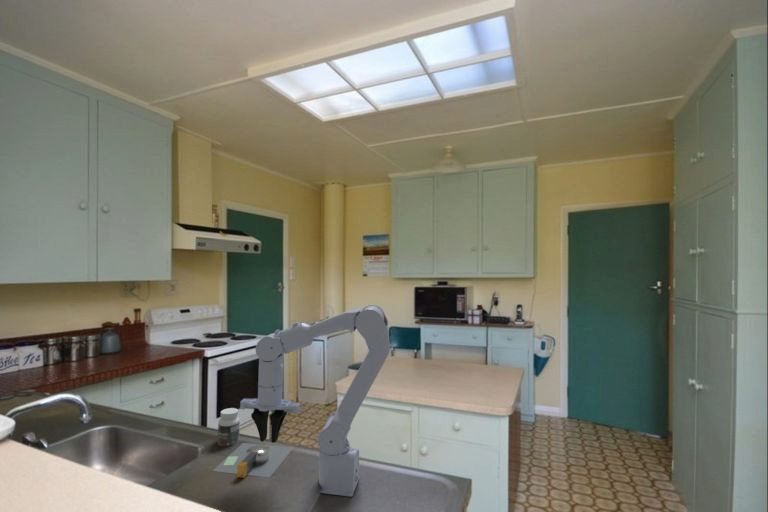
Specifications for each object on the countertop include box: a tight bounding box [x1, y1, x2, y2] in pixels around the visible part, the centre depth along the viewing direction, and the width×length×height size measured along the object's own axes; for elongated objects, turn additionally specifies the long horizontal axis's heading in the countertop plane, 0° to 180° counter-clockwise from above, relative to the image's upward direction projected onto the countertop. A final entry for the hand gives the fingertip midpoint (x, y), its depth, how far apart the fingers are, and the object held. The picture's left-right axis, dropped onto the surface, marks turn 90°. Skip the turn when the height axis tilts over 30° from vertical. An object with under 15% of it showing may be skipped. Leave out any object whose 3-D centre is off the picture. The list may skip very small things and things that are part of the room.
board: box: [212, 442, 294, 479], centre depth 103 cm, size 15×15×1 cm
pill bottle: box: [217, 407, 241, 447], centre depth 112 cm, size 6×6×10 cm
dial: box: [236, 444, 269, 479], centre depth 99 cm, size 6×12×3 cm, turn 171°
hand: (269, 440), depth 95 cm, fingers open, 2 cm apart
